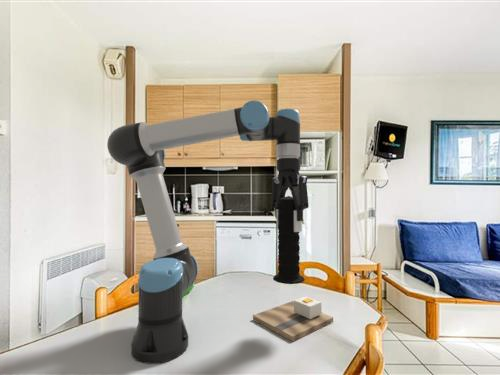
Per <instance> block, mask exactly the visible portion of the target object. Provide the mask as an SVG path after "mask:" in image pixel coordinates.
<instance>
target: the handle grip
mask: <svg viewBox="0 0 500 375" xmlns="http://www.w3.org/2000/svg"><path fill="white" fill-rule="evenodd" d="M293 200H294V199H293V197H292V196H290V195H287V196H285V197H283V198H280V199H278V202H279V204H278V210H279V211H278V213H279V214H278V220H279V221H278V223H279V224H278V229H277V233H278V235H277V239H278V241H277V244H278V246H277V249H278V251H277V252H278V253H277V254H278V255H277V260H278V261H277V263H278V265H277V270H278V272H277V273H276V274H274V276H273V281H275V282H276V283H279V284H284V285H285V284H286V285H298V284H302V283H304V282H305V281H306V280H305V277H304V276H303V275H301V273H300V270H301V269H300V268H301V267H300V257H301V256H300V253H301V252H300V248H301V247H300V232H301V231H300V232H294V211H295V210H294V209H296V208H295V204H294V201H293Z"/></svg>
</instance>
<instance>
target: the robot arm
mask: <svg viewBox="0 0 500 375" xmlns="http://www.w3.org/2000/svg"><path fill="white" fill-rule="evenodd" d="M300 118H301V117H300V112H299V110H297V109H294V108H283V109H282V108H281V109H278V111H276V115H275V116H270V113H269V111H268V107H267V106H266V104H264V103H263V102H261V101H260V100H256V99H253V100H249V101H247V102H245V103H244V104H243V105H242V106H241V107H236V108H232V109H227V110H220V111H216V112H210V113H205V114H200V115H194V116H190V117H183V118H180V119H179V118H178V119H172V120H167V121H162V122H157V123H156V122H155V123H151V124H150V123H149V124H148V123H147V122H144V121H142V122H137V123H136V122H135V123H131V124H127V125H122V126H119V127H117V128H116V129H114V130H113V131H111V133H110V135H109V137H108V139H107V143H106V145H107V146H106V147H107V150H108V153H109V155H110V157H111V158H112V160H114V161H116V162H117V163H118V164H120V165H124V166H126V168H127V172H128V175H129V178H131V179H133V180H134V181H135V182H136V185H137V189H138V193H139V195H140V198H141V202H142V206H143V209H144V213H145V217H146V220H147V224H148V226H149V231H150V234H151V237H152V241H153V245H154V248H155V253H154V254H153V256H152V259H153V260H150V261H147V262H146V263H144V264H143V265H142V266H141V267H140V270H139V275H138V278H137V284H138V322H137V325H136V329H135V331H134V334H133V337H132V340H131V344H130V354H131V357H132V358H133V359H134V360H135V361H137V362H141V363H145V364H158V363H159V364H160V363H164V362H168V361H171V360H173V359H175V358H177V357H179V356H181V355H182V354H184V352H185V351H186V350H187V349H188V346H189V334H188V330H187V326H186V324H185V321H184V318H183V297H182V295H183V294H184V293H185V291H186V290H187V289H188V288H189V287H190V286H191V285H192V284H193V283H194V282H195V281H196V279H197V277H198V273H199V264H198V261H197V259H196V258H195V256H194V255H192V254H191V251H190V247H189V245H187V244H185V243H184V242H183V240H182V236H181V233H180V230H179V227H178V222H177V220H176V217H175V213H174V212H175V211H174V209H173V206H172V202H171V199H170V195H169V193H168V189H167V185H166V182H165V178H164V172H165V170H166V169H167V168H166V166H165V162H164V161H165V159H166V152H165V150H169V149H174V148H179V147H185V146H191V145H194V144H201V143H205V142H211V141H217V140H222V139H227V138H232V137H238V136H239V139H240V140H241V141H243V142H244V141H245V142H261V141H265V142H266V141H273V142H274V141H276V171H277V172H278V174H277V176H276V177H271V194H270V207H271V208H274V210H275V213H274V214H275V215H274V216H275V217H274V218H275V219H276V221H275V222H276V230H278V224H279V223H278V221H279V220H278V214H279V213H278V211H279V210H278V204H279V202H278V199H280V198H283V197H286V193H287V191H288V190H290V193H291V197H293V199H294V200H293V201H294V204H295V208H296V209H294V210H295V211H294V232H302V227H303V226H302V225H303V224H302V223H303V221H304V210H306V209H309V198H308V185H307V182H308V176H307V175H306V176H305V175H301V174H300V170H301V160H300V157H301V123H300V122H301V120H300Z"/></svg>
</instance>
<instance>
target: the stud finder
mask: <svg viewBox="0 0 500 375" xmlns="http://www.w3.org/2000/svg"><path fill="white" fill-rule="evenodd" d="M293 301H294V312H295V313H298V314H300V315H302V316H304V317H307V318H309V319H311V318H314V317H316V316H318V315H321V312H322V301H319V300H316V299H314V298H311V297H308V296H306V295H305V296H302V297H299V298H296V299H294V300H293Z"/></svg>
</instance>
